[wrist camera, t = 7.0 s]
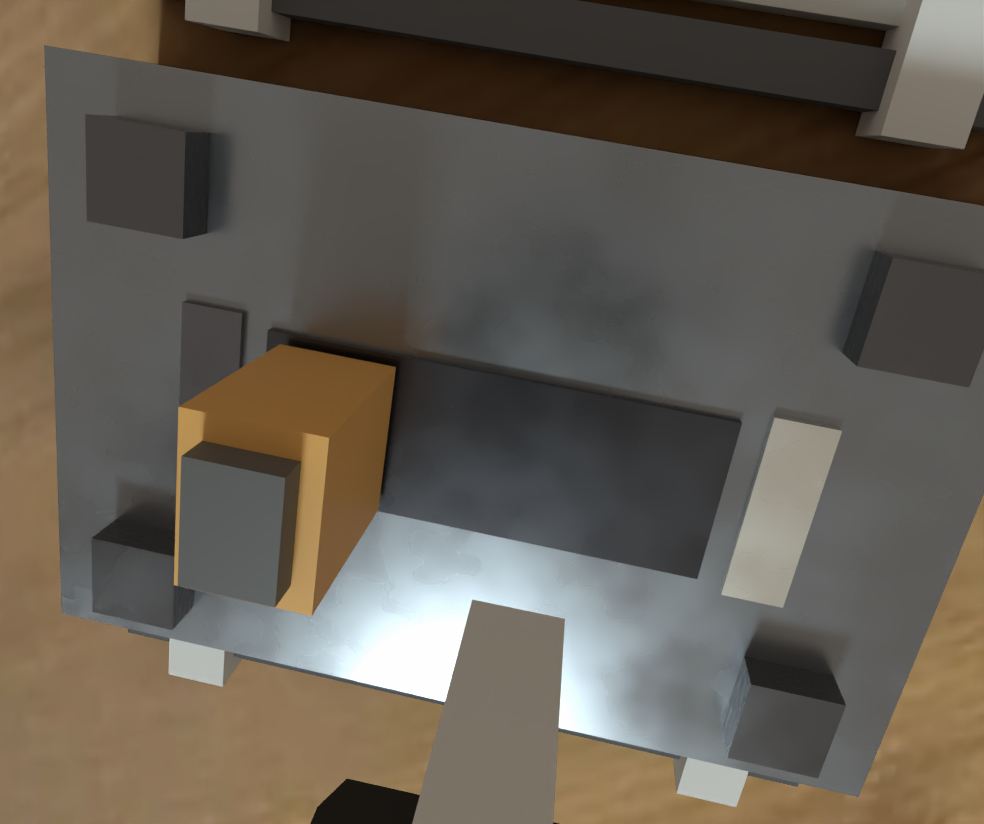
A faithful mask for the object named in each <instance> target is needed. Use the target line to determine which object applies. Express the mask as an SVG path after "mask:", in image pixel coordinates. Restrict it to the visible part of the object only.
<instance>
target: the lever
mask: <svg viewBox="0 0 984 824" xmlns="http://www.w3.org/2000/svg"><path fill="white" fill-rule="evenodd" d="M395 371H396V367H393V366H388V365H383V364H378V363H373V362H368V361H363V360H358V359H353V358H348V357H343V356H338V355H333V354H328V353H323V352H318V351H312V350H307V349H302V348H297V347H292V346H287V345H282V344H279V345H278V346H276V347H274V348H273V349H271V350H270V351H268V352H266V353H265V354H263V355H262V356H260V357H258V358H257V359H255V360H253V361H252V362H250V363H249V364H247V365H245V366H244V367H242V368H240V369H239V370H237V371H236V372H234V373H232V374H231V375H229V376H228V377H226V378H224V379H223V380H221V381H219V382H218V383H216V384H215V385H213V386H211V387H210V388H208V389H206V390H205V391H203V392H202V393H200V394H198V395H197V396H195V397H194V398H192V399H190V400H189V401H187V402H185V403H184V404H182V405H181V406H179V407H178V444H177V482H176V520H175V558H174V585H176V586H180V587H185V588H189V589H194V590H198V591H203V592H207V593H211V594H216V595H220V596H225V597H229V598H234V599H238V600H243V601H247V602H251V603H256V604H260V605H265V606H269V607H274V608H278V609H283V610H287V611H292V612H296V613H300V614H305V615H309V616H312V615H313V613H314V612H315V610H316V609H317V607H318V605H319V604H320V602H321V601H322V599H323V598H324V596H325V594H326V593H327V591H328V590H329V588H330V586H331V585H332V583H333V582H334V580H335V578H336V577H337V575H338V574H339V572H340V570H341V569H342V567H343V566H344V564H345V562H346V561H347V559H348V558H349V556H350V554H351V553H352V551H353V550H354V548H355V546H356V545H357V543H358V542H359V540H360V539H361V537H362V535H363V534H364V532H365V531H366V529H367V527H368V526H369V524H370V523H371V521H372V519H373V518H374V516H375V515H376V513H377V511H378V508H379V500H380V492H381V484H382V476H383V468H384V460H385V452H386V444H387V436H388V428H389V420H390V412H391V404H392V396H393V388H394V379H395Z"/></svg>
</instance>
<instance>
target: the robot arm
mask: <svg viewBox="0 0 984 824" xmlns="http://www.w3.org/2000/svg"><path fill="white" fill-rule="evenodd" d="M564 627H565V619H563V618H559V617H554V616H549V615H544V614H540V613H535V612H530V611H525V610H520V609H516V608H511V607H506V606H501V605H496V604H492V603H487V602H482V601H477V600H472V602H471V606H470V610H469V614H468V617H467V621H466V625H465V629H464V632H463V636H462V640H461V643H460V647H459V651H458V655H457V658H456V662H455V666H454V670H453V673H452V677H451V681H450V685H449V688H448V692H447V696H446V700H445V703H444V707H443V711H442V714H441V718H440V722H439V726H438V729H437V733H436V737H435V741H434V744H433V748H432V752H431V756H430V759H429V763H428V767H427V770H426V774H425V778H424V782H423V785H422V789H421V793H420V795H417V794H413V793H408V792H404V791H399V790H395V789H391V788H386V787H382V786H377V785H373V784H368V783H364V782H359V781H355V780H351V779H346V780H345V781H344V782H343V783H342V784H341V785H340V786H339V787H338V788H337V789H336V790H335V791H334V792H333V793H332V794H331V795H329V796H328V797H327V798H326V799H325V800H324V801H323V802H322V803H321V804H320V805H319V806H318V807H317V809H316V812H315V814H314V817H313V819H312V821H311V824H558V823H554V822H553V816H554V799H555V782H556V765H557V748H558V730H559V713H560V696H561V679H562V662H563V644H564Z"/></svg>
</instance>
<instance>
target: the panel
mask: <svg viewBox="0 0 984 824" xmlns="http://www.w3.org/2000/svg"><path fill="white" fill-rule="evenodd" d="M44 49H45V82H46V115H47V147H48V180H49V213H50V246H51V279H52V312H53V345H54V377H55V410H56V443H57V476H58V509H59V542H60V575H61V607H62V613H63V614H67V615H72V616H76V617H80V618H85V619H89V620H93V621H98V622H102V623H106V624H111V625H115V626H119V627H124V628H128V629H132V630H137V631H141V632H145V633H150V634H154V635H158V636H163V637H167V638H171V639H176V640H180V641H184V642H189V643H193V644H197V645H202V646H206V647H210V648H215V649H219V650H223V651H228V652H232V653H236V654H241V655H245V656H249V657H254V658H258V659H262V660H267V661H271V662H275V663H280V664H284V665H288V666H293V667H297V668H301V669H306V670H310V671H314V672H319V673H323V674H327V675H332V676H336V677H340V678H345V679H349V680H353V681H358V682H362V683H367V684H371V685H375V686H380V687H384V688H388V689H393V690H397V691H401V692H406V693H410V694H414V695H419V696H423V697H427V698H432V699H436V700H440V701H445V700H446V696H447V692H448V688H449V685H450V681H451V677H452V673H453V670H454V666H455V662H456V658H457V655H458V651H459V647H460V643H461V640H462V636H463V632H464V629H465V625H466V621H467V617H468V614H469V610H470V606H471V602H472V600H477V601H482V602H487V603H492V604H496V605H501V606H506V607H511V608H516V609H520V610H525V611H530V612H535V613H540V614H544V615H549V616H554V617H559V618H563V619H565V627H564V644H563V662H562V679H561V696H560V713H559V728H562V729H566V730H570V731H575V732H579V733H583V734H588V735H592V736H596V737H601V738H605V739H609V740H614V741H618V742H622V743H627V744H631V745H635V746H640V747H644V748H648V749H653V750H657V751H661V752H666V753H670V754H674V755H679V756H683V757H687V758H692V759H696V760H700V761H705V762H709V763H713V764H718V765H722V766H727V767H731V768H735V769H740V770H744V771H748V772H753V773H757V774H761V775H766V776H770V777H774V778H779V779H783V780H787V781H792V782H796V783H800V784H805V785H809V786H813V787H818V788H822V789H826V790H831V791H835V792H839V793H844V794H848V795H852V796H857V797H859V794H860V792H861V789H862V787H863V785H864V782H865V780H866V777H867V775H868V773H869V770H870V768H871V765H872V763H873V760H874V758H875V756H876V753H877V751H878V748H879V746H880V744H881V741H882V739H883V736H884V734H885V731H886V729H887V727H888V724H889V722H890V719H891V717H892V714H893V712H894V710H895V707H896V705H897V702H898V700H899V698H900V695H901V693H902V690H903V688H904V685H905V683H906V681H907V678H908V676H909V673H910V671H911V668H912V666H913V664H914V661H915V659H916V656H917V654H918V652H919V649H920V647H921V644H922V642H923V639H924V637H925V635H926V632H927V630H928V627H929V625H930V622H931V620H932V618H933V615H934V613H935V610H936V608H937V606H938V603H939V601H940V598H941V596H942V593H943V591H944V589H945V586H946V584H947V581H948V579H949V577H950V574H951V572H952V569H953V567H954V564H955V562H956V560H957V557H958V555H959V552H960V550H961V547H962V545H963V543H964V540H965V538H966V535H967V533H968V531H969V528H970V526H971V523H972V521H973V518H974V516H975V514H976V511H977V509H978V506H979V504H980V501H981V499H982V497H983V494H984V206H983V205H977V204H972V203H966V202H960V201H954V200H948V199H942V198H937V197H931V196H925V195H919V194H913V193H907V192H901V191H896V190H890V189H884V188H878V187H872V186H866V185H861V184H855V183H849V182H843V181H837V180H831V179H825V178H820V177H814V176H808V175H802V174H796V173H790V172H784V171H779V170H773V169H767V168H761V167H755V166H749V165H744V164H738V163H732V162H726V161H720V160H714V159H708V158H703V157H697V156H691V155H685V154H679V153H673V152H668V151H662V150H656V149H650V148H644V147H638V146H632V145H627V144H621V143H615V142H609V141H603V140H597V139H592V138H586V137H580V136H574V135H568V134H562V133H556V132H551V131H545V130H539V129H533V128H527V127H521V126H515V125H510V124H504V123H498V122H492V121H486V120H480V119H475V118H469V117H463V116H457V115H451V114H445V113H439V112H434V111H428V110H422V109H416V108H410V107H404V106H399V105H393V104H387V103H381V102H375V101H369V100H363V99H358V98H352V97H346V96H340V95H334V94H328V93H322V92H317V91H311V90H305V89H299V88H293V87H287V86H282V85H276V84H270V83H264V82H258V81H252V80H246V79H241V78H235V77H229V76H223V75H217V74H211V73H206V72H200V71H194V70H188V69H182V68H176V67H170V66H165V65H159V64H153V63H147V62H141V61H135V60H129V59H123V58H117V57H111V56H105V55H99V54H93V53H87V52H81V51H75V50H69V49H63V48H57V47H51V46H45V45H44ZM279 344H282V345H287V346H292V347H297V348H302V349H307V350H312V351H318V352H323V353H328V354H333V355H338V356H343V357H348V358H353V359H358V360H363V361H368V362H373V363H378V364H383V365H388V366H393V367H396V371H395V379H394V388H393V396H392V404H391V412H390V420H389V428H388V436H387V444H386V452H385V460H384V468H383V476H382V484H381V492H380V500H379V508H378V511H377V513H376V515H375V516H374V518H373V519H372V521H371V523H370V524H369V526H368V527H367V529H366V531H365V532H364V534H363V535H362V537H361V539H360V540H359V542H358V543H357V545H356V546H355V548H354V550H353V551H352V553H351V554H350V556H349V558H348V559H347V561H346V562H345V564H344V566H343V567H342V569H341V570H340V572H339V574H338V575H337V577H336V578H335V580H334V582H333V583H332V585H331V586H330V588H329V590H328V591H327V593H326V594H325V596H324V598H323V599H322V601H321V602H320V604H319V605H318V607H317V609H316V610H315V612H314V613H313V615H312V616H309V615H305V614H300V613H296V612H292V611H287V610H283V609H278V608H274V607H269V606H265V605H260V604H256V603H251V602H247V601H243V600H238V599H234V598H229V597H225V596H220V595H216V594H211V593H207V592H203V591H198V590H194V589H189V588H185V587H180V586H176V585H174V558H175V520H176V482H177V444H178V407H179V406H181V405H182V404H184V403H185V402H187V401H189V400H190V399H192V398H194V397H195V396H197V395H198V394H200V393H202V392H203V391H205V390H206V389H208V388H210V387H211V386H213V385H215V384H216V383H218V382H219V381H221V380H223V379H224V378H226V377H228V376H229V375H231V374H232V373H234V372H236V371H237V370H239V369H240V368H242V367H244V366H245V365H247V364H249V363H250V362H252V361H253V360H255V359H257V358H258V357H260V356H262V355H263V354H265V353H266V352H268V351H270V350H271V349H273V348H274V347H276V346H278V345H279Z"/></svg>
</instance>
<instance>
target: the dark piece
mask: <svg viewBox="0 0 984 824" xmlns="http://www.w3.org/2000/svg"><path fill="white" fill-rule="evenodd" d="M179 1H185V20H187V21H191V22H194V23H198V24H201V25H205V26H208V27H212V28H215V29H219V30H222V31H228V32H234V33H240V34H246V35H252V36H258V37H264V38H270V39H276V40H282V41H288V42H289V41H290V25H291V19H295V20H301V21H307V22H313V23H320V24H326V25H332V26H338V27H344V28H350V29H356V30H362V31H368V32H374V33H381V34H387V35H393V36H399V37H405V38H411V39H417V40H423V41H429V42H435V43H442V44H448V45H454V46H460V47H466V48H472V49H478V50H484V51H490V52H496V53H503V54H509V55H515V56H521V57H527V58H533V59H539V60H545V61H551V62H557V63H563V64H570V65H576V66H582V67H588V68H594V69H600V70H606V71H612V72H618V73H624V74H631V75H637V76H643V77H649V78H655V79H661V80H667V81H673V82H679V83H685V84H692V85H698V86H704V87H710V88H716V89H722V90H728V91H734V92H740V93H746V94H753V95H759V96H765V97H771V98H777V99H783V100H789V101H795V102H801V103H807V104H814V105H820V106H826V107H832V108H838V109H844V110H850V111H856V112H862V114H861V117H860V120H859V124H858V127H857V130H856V134H855V136H859V137H865V138H871V139H877V140H883V141H889V142H895V143H901V144H907V145H913V146H919V147H925V148H937V149H964V148H965V146H966V143H967V140H968V137H969V134H970V131H971V130H972V131H978V132H984V0H689V1H695V2H702V3H708V4H715V5H721V6H727V7H734V8H740V9H747V10H753V11H760V12H766V13H772V14H779V15H785V16H792V17H798V18H804V19H811V20H817V21H824V22H830V23H837V24H843V25H849V26H856V27H862V28H869V29H875V30H882V31H886V34H885V37H884V40H883V44H882V47H881V48H878V47H871V46H865V45H859V44H852V43H846V42H840V41H833V40H827V39H820V38H814V37H808V36H801V35H795V34H789V33H782V32H776V31H770V30H763V29H757V28H751V27H744V26H738V25H732V24H725V23H719V22H712V21H706V20H700V19H693V18H687V17H681V16H674V15H668V14H662V13H655V12H649V11H643V10H636V9H630V8H624V7H617V6H611V5H604V4H598V3H592V2H585V1H579V0H179ZM128 632H130V633H134V634H138V635H143V636H147V637H151V638H156V639H160V640H164V641H169V642H170V643H169V674H170V675H174V676H179V677H183V678H187V679H192V680H196V681H200V682H204V683H209V684H213V685H217V686H221V687H223V686H224V684H225V683H226V681H227V680H228V678H229V677H230V676H231V674H232V673H233V671H234V670H235V669H236V667H237V666H238V664H239V663H240V662H241V660H242V659H247V660H251V661H255V662H260V663H264V664H268V665H273V666H277V667H281V668H286V669H290V670H294V671H299V672H303V673H307V674H312V675H316V676H320V677H324V678H329V679H333V680H337V681H342V682H346V683H350V684H355V685H359V686H363V687H368V688H372V689H376V690H381V691H385V692H389V693H394V694H398V695H402V696H407V697H411V698H415V699H420V700H424V701H428V702H433V703H437V704H441V705H444V703H445V701H440V700H436V699H432V698H427V697H423V696H419V695H414V694H410V693H406V692H401V691H397V690H393V689H388V688H384V687H380V686H375V685H371V684H367V683H362V682H358V681H353V680H349V679H345V678H340V677H336V676H332V675H327V674H323V673H319V672H314V671H310V670H306V669H301V668H297V667H293V666H288V665H284V664H280V663H275V662H271V661H267V660H262V659H258V658H254V657H249V656H245V655H241V654H236V653H232V652H228V651H223V650H219V649H215V648H210V647H206V646H202V645H197V644H193V643H189V642H184V641H180V640H176V639H171V638H167V637H163V636H158V635H154V634H150V633H145V632H141V631H137V630H132V629H128ZM558 732H563V733H567V734H571V735H576V736H580V737H584V738H589V739H593V740H597V741H602V742H606V743H610V744H615V745H619V746H623V747H628V748H632V749H636V750H641V751H645V752H649V753H654V754H658V755H662V756H667V757H671V758H673V764H674V774H675V784H676V793H678V794H682V795H687V796H691V797H695V798H699V799H704V800H708V801H712V802H716V803H721V804H725V805H729V806H734V807H736V806H737V803H738V801H739V798H740V795H741V792H742V789H743V786H744V783H745V780H746V777H747V775H749V776H753V777H758V778H762V779H766V780H771V781H775V782H779V783H784V784H788V785H792V786H797V787H798V784H799V783H796V782H792V781H787V780H783V779H779V778H774V777H770V776H766V775H761V774H757V773H753V772H748V771H744V770H740V769H735V768H731V767H727V766H722V765H718V764H713V763H709V762H705V761H700V760H696V759H692V758H687V757H683V756H679V755H674V754H670V753H666V752H661V751H657V750H653V749H648V748H644V747H640V746H635V745H631V744H627V743H622V742H618V741H614V740H609V739H605V738H601V737H596V736H592V735H588V734H583V733H579V732H575V731H570V730H566V729H562V728H559V730H558Z"/></svg>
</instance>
